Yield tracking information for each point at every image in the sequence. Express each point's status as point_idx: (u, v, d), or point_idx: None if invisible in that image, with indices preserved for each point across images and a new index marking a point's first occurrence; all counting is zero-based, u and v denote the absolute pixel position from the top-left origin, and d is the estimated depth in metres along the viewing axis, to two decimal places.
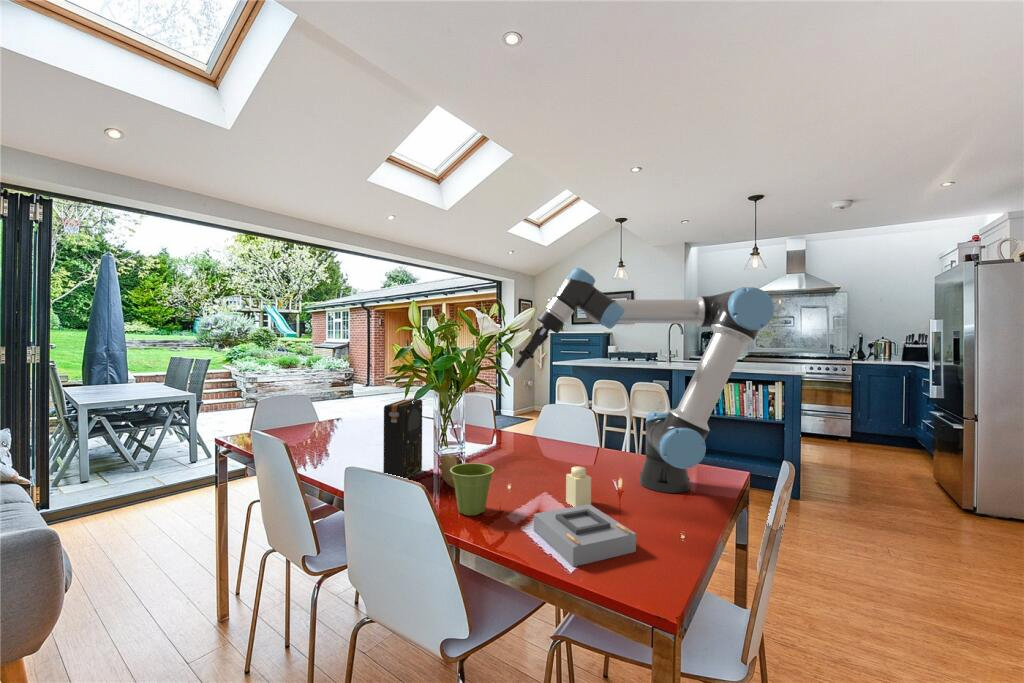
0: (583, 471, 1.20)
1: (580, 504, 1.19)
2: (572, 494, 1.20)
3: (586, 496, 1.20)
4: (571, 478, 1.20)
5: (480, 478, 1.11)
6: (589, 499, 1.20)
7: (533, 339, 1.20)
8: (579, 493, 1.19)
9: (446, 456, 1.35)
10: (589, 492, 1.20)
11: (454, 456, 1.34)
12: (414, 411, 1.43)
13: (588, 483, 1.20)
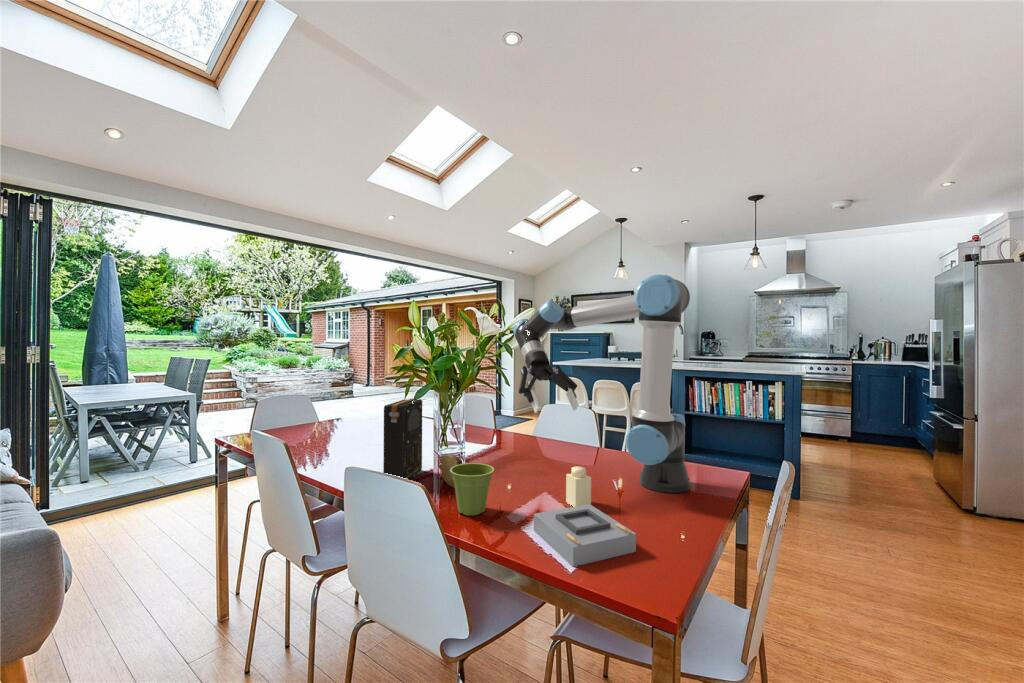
0: (583, 471, 1.20)
1: (580, 504, 1.19)
2: (572, 494, 1.20)
3: (586, 496, 1.20)
4: (571, 478, 1.20)
5: (480, 478, 1.11)
6: (589, 499, 1.20)
7: (521, 380, 1.37)
8: (579, 493, 1.19)
9: (446, 456, 1.35)
10: (589, 492, 1.20)
11: (454, 456, 1.34)
12: (414, 411, 1.43)
13: (588, 483, 1.20)
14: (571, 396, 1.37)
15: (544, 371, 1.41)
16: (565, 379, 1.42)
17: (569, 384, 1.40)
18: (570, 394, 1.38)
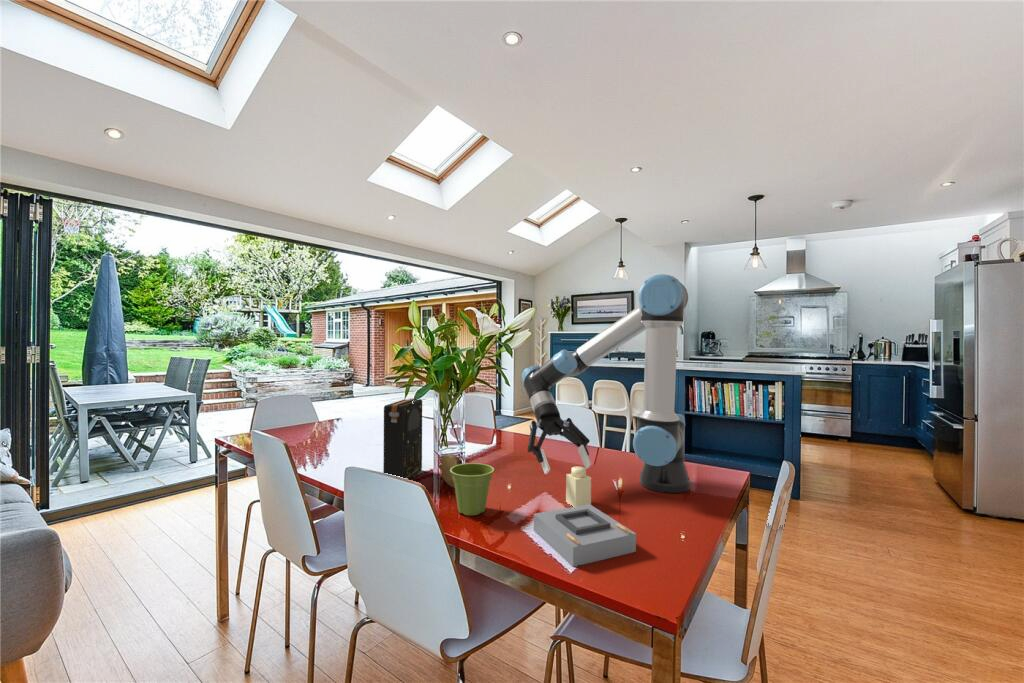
0: (583, 471, 1.20)
1: (580, 504, 1.19)
2: (572, 494, 1.20)
3: (586, 496, 1.20)
4: (571, 478, 1.20)
5: (479, 478, 1.11)
6: (589, 499, 1.20)
7: None
8: (579, 493, 1.19)
9: (446, 456, 1.35)
10: (589, 492, 1.20)
11: (454, 456, 1.34)
12: (414, 411, 1.44)
13: (588, 483, 1.20)
14: (583, 453, 1.29)
15: (554, 425, 1.33)
16: (576, 433, 1.34)
17: (581, 439, 1.32)
18: (582, 451, 1.30)
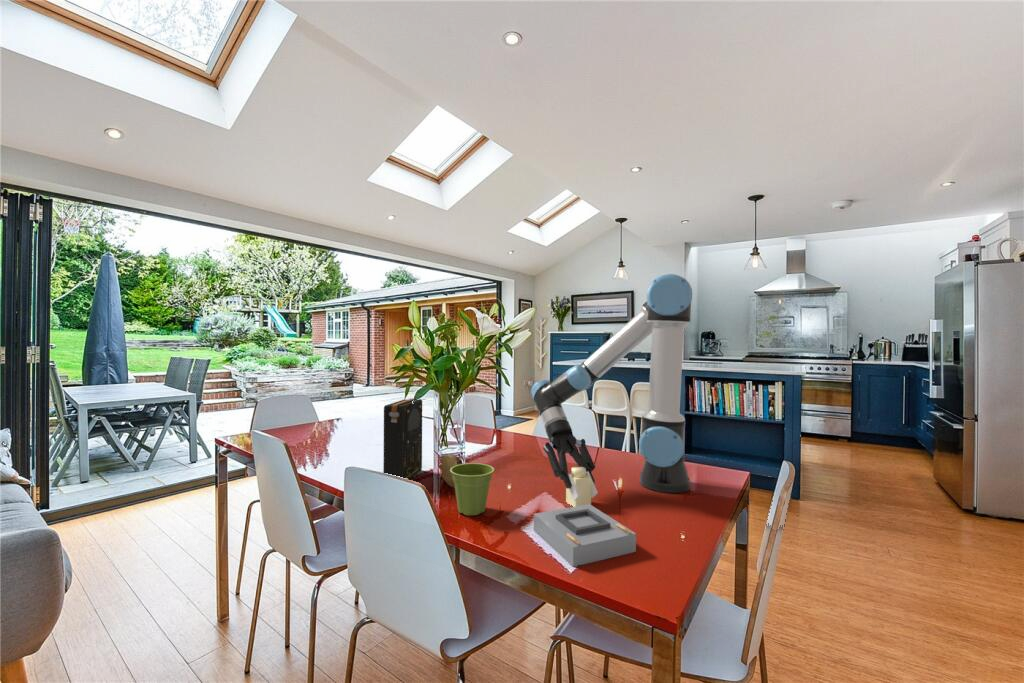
0: (583, 471, 1.20)
1: (580, 504, 1.19)
2: None
3: (586, 496, 1.20)
4: None
5: (480, 478, 1.11)
6: (589, 499, 1.20)
7: (550, 460, 1.24)
8: (579, 493, 1.19)
9: (446, 456, 1.35)
10: (589, 492, 1.20)
11: (454, 456, 1.34)
12: (414, 411, 1.43)
13: (588, 483, 1.20)
14: None
15: (567, 443, 1.28)
16: (585, 456, 1.27)
17: (587, 465, 1.24)
18: None
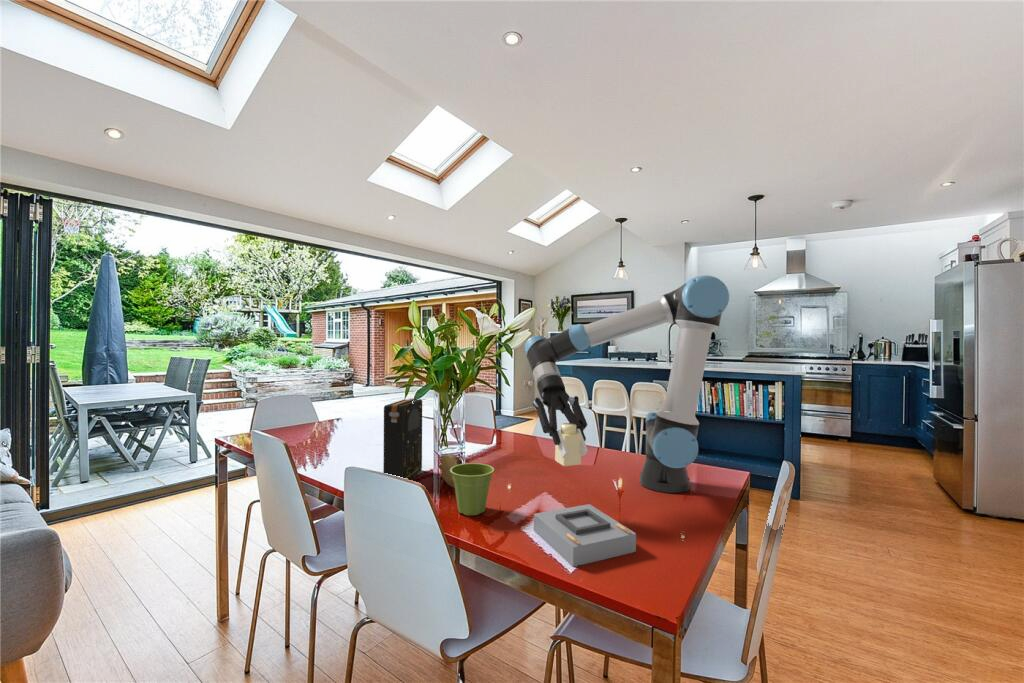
0: (573, 427, 1.13)
1: (569, 462, 1.12)
2: None
3: (576, 453, 1.13)
4: None
5: (480, 478, 1.11)
6: (579, 457, 1.13)
7: (539, 416, 1.17)
8: (568, 450, 1.12)
9: (446, 456, 1.35)
10: (579, 450, 1.13)
11: (454, 456, 1.34)
12: (414, 411, 1.44)
13: (578, 440, 1.13)
14: None
15: (558, 399, 1.20)
16: (577, 413, 1.20)
17: (579, 422, 1.17)
18: None
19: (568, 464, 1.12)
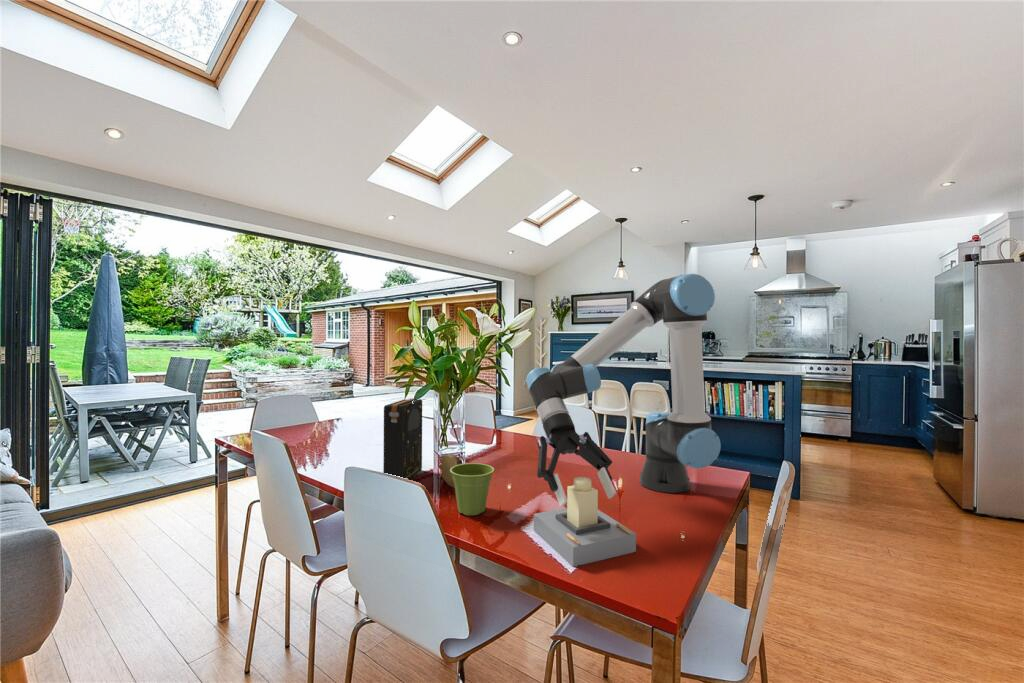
0: (588, 483, 0.98)
1: (584, 523, 0.97)
2: (574, 511, 0.98)
3: (592, 513, 0.98)
4: (573, 491, 0.98)
5: (480, 478, 1.11)
6: (595, 517, 0.98)
7: (539, 456, 1.02)
8: (583, 510, 0.97)
9: (446, 456, 1.35)
10: (595, 509, 0.98)
11: (454, 456, 1.34)
12: (414, 411, 1.43)
13: (594, 498, 0.98)
14: (605, 479, 1.02)
15: (568, 441, 1.06)
16: (596, 452, 1.07)
17: (601, 460, 1.05)
18: (603, 475, 1.02)
19: None
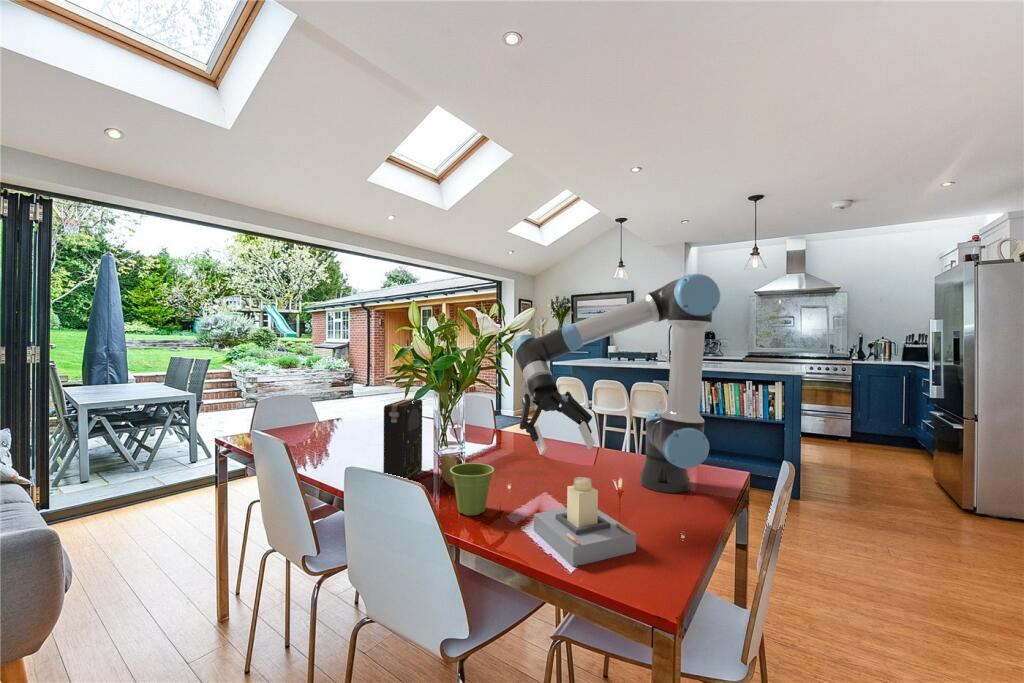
0: (588, 483, 0.98)
1: (584, 523, 0.97)
2: (574, 511, 0.98)
3: (592, 513, 0.98)
4: (573, 491, 0.98)
5: (480, 478, 1.11)
6: (595, 517, 0.98)
7: (522, 412, 1.11)
8: (583, 510, 0.97)
9: (446, 456, 1.35)
10: (595, 509, 0.98)
11: (454, 456, 1.34)
12: (414, 411, 1.43)
13: (594, 498, 0.98)
14: (585, 431, 1.10)
15: (551, 399, 1.14)
16: (577, 409, 1.15)
17: (582, 415, 1.13)
18: (584, 428, 1.11)
19: None
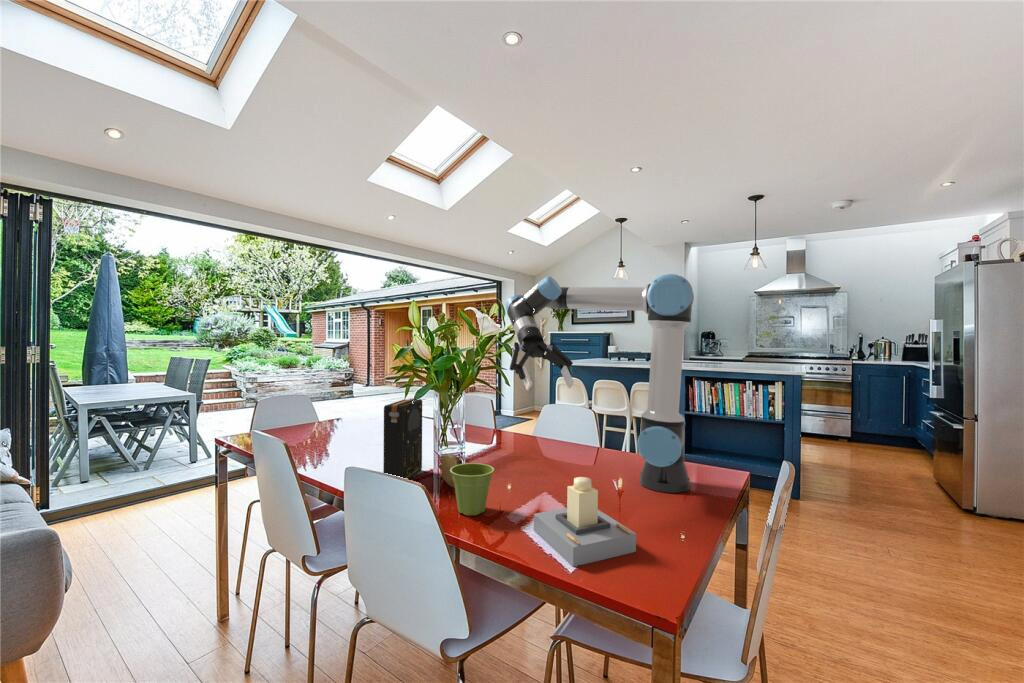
0: (588, 483, 0.98)
1: (584, 523, 0.97)
2: (574, 511, 0.98)
3: (592, 513, 0.98)
4: (573, 491, 0.98)
5: (479, 478, 1.11)
6: (595, 517, 0.98)
7: (512, 356, 1.29)
8: (583, 510, 0.97)
9: (446, 456, 1.35)
10: (595, 509, 0.98)
11: (454, 456, 1.34)
12: (414, 411, 1.43)
13: (594, 498, 0.98)
14: (566, 373, 1.28)
15: (537, 348, 1.32)
16: (560, 356, 1.34)
17: (564, 361, 1.31)
18: (565, 371, 1.29)
19: None
